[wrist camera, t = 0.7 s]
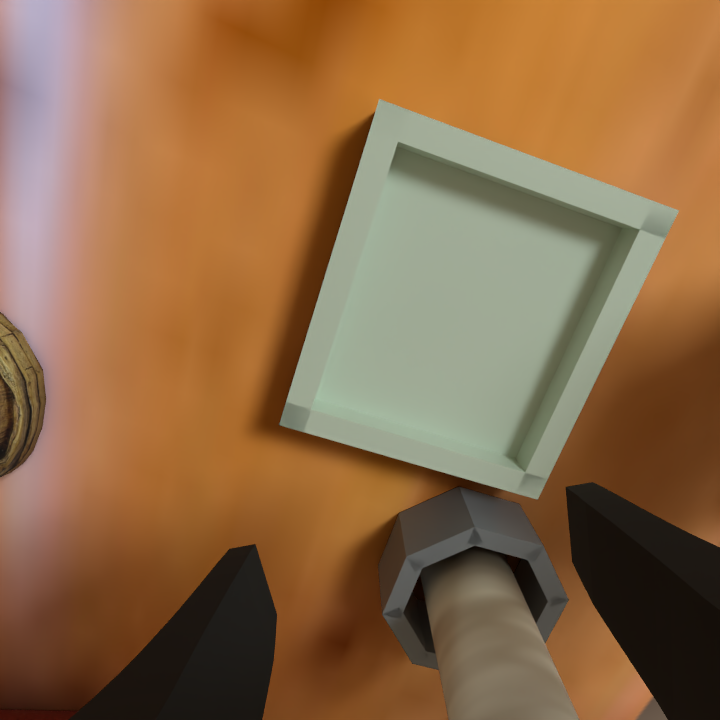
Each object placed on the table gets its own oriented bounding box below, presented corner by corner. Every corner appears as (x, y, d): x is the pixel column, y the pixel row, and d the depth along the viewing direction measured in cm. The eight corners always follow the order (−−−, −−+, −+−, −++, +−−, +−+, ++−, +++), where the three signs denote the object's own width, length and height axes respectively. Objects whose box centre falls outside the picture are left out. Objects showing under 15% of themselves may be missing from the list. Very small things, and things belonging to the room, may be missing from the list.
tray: (646, 210, 19) (678, 210, 17) (521, 475, 22) (537, 499, 21) (376, 110, 18) (379, 99, 16) (285, 405, 21) (278, 424, 19)
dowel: (515, 534, 23) (612, 724, 15) (482, 601, 24) (555, 814, 16) (435, 512, 23) (487, 694, 14) (406, 581, 24) (438, 789, 15)
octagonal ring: (560, 515, 23) (591, 559, 20) (500, 634, 25) (520, 689, 22) (414, 473, 22) (424, 513, 19) (363, 600, 24) (366, 652, 21)
